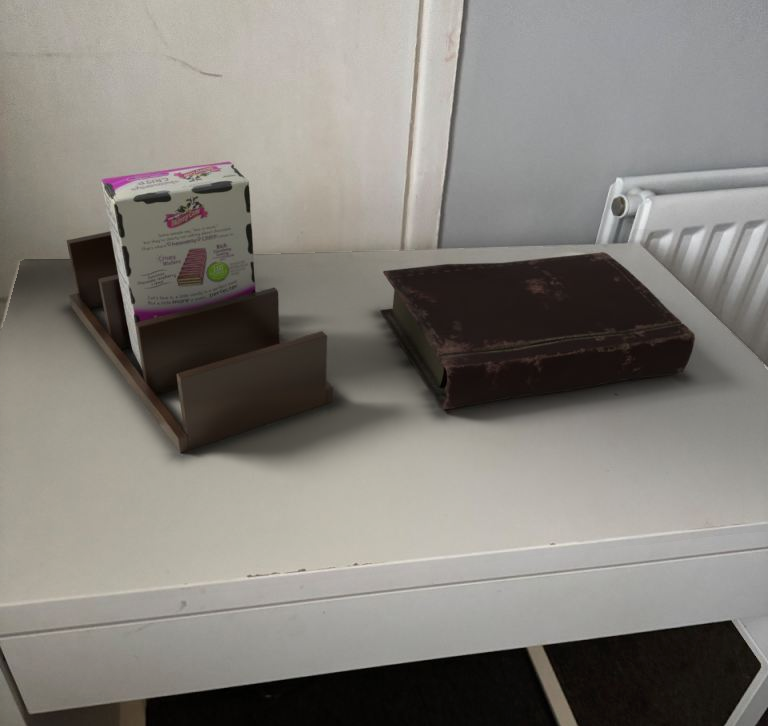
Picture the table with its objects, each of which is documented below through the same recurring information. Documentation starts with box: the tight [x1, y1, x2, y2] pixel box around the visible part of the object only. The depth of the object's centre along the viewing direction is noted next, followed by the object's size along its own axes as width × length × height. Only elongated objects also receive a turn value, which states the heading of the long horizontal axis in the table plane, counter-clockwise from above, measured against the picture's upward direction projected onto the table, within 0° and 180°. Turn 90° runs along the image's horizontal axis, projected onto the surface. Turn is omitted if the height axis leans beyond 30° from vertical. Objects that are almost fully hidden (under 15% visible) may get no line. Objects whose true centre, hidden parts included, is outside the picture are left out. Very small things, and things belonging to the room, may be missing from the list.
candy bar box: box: [100, 161, 257, 370], centre depth 73 cm, size 11×5×16 cm, turn 118°
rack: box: [66, 231, 335, 453], centre depth 76 cm, size 26×15×7 cm, turn 34°
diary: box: [380, 251, 696, 411], centre depth 81 cm, size 19×25×5 cm
